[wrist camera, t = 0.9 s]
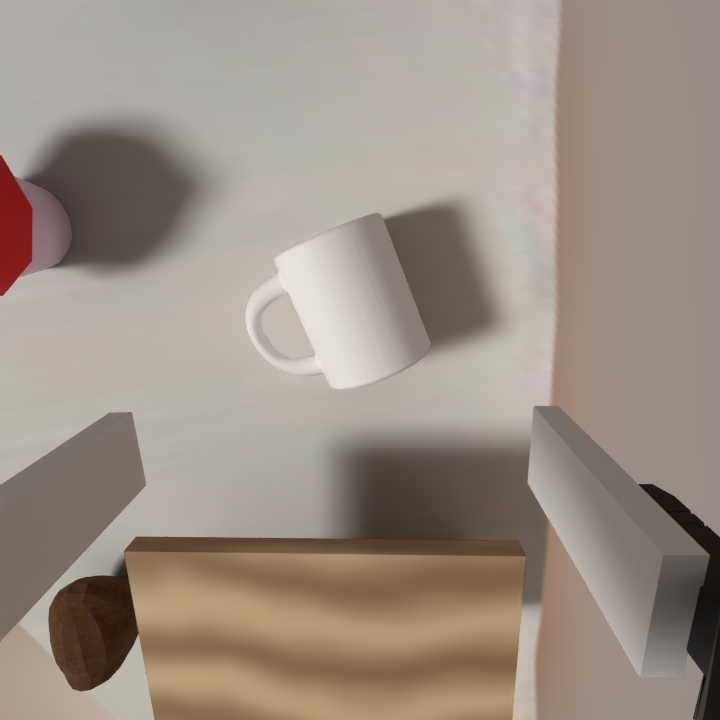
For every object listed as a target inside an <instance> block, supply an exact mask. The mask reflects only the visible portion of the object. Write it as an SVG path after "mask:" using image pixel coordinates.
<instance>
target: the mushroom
mask: <svg viewBox="0 0 720 720" xmlns="http://www.w3.org/2000/svg"><path fill="white" fill-rule="evenodd" d="M71 239H72V230H71V224H70V218H69V216H68V215H67V213H66V211H65V209H64V207H63V205H62V203H61V202H60V201H59V200H58V199H57V198H55V197H54V196H53V195H52V194H51V193H50V192H49V191H48V190H46V189H43V188H41V187H39V186H36V185H34V184H32V183H29V182H27V181H24V180H22V179H19V178H17V177H14V176H13V174H12V172H11V171H10V169H9V167H8V166H7V164H6V162H5V161H4V159H3V157H2V156H1V155H0V296H3V295H4V294H5V293H6V291H7V290H8V289H9V288H10V287H11V285H12V284H13V283H14V282H15V281H16V280H17V278H18V277H21V276H25V275H28V274H31V273H34V272H38V271H41V270H44V269H47V268H49V267H51V266H53V265H56V264H58V263H60V262H61V260H62V259H63V258H64V256H65V255H66V254H67V253H68V251H69V248H70V244H71Z"/></svg>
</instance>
